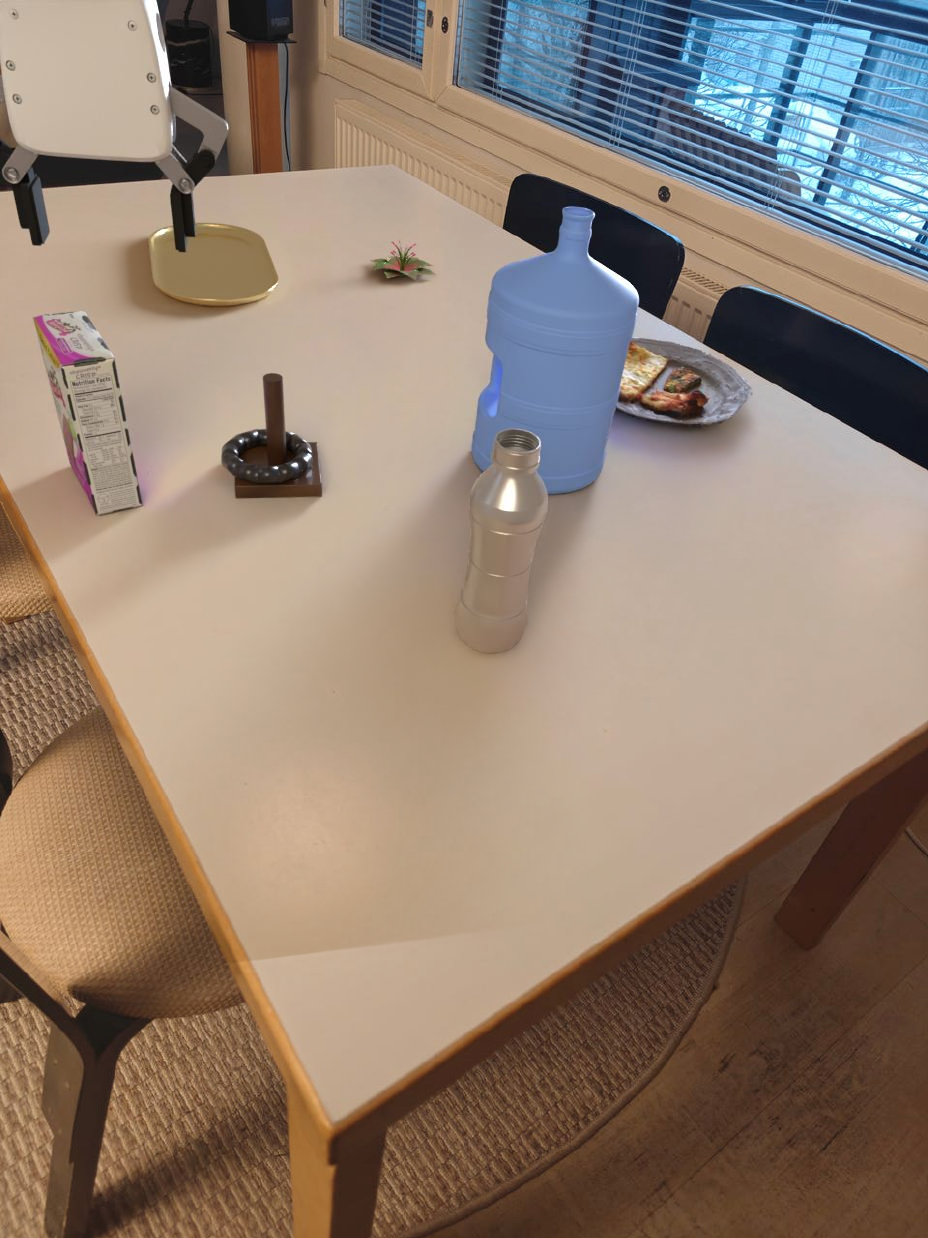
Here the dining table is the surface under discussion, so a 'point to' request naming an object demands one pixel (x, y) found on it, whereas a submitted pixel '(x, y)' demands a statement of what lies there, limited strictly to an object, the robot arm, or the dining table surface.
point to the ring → (265, 472)
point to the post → (277, 452)
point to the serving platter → (213, 265)
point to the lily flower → (402, 265)
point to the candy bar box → (89, 410)
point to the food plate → (678, 385)
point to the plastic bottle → (502, 543)
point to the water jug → (557, 356)
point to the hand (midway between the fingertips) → (112, 242)
